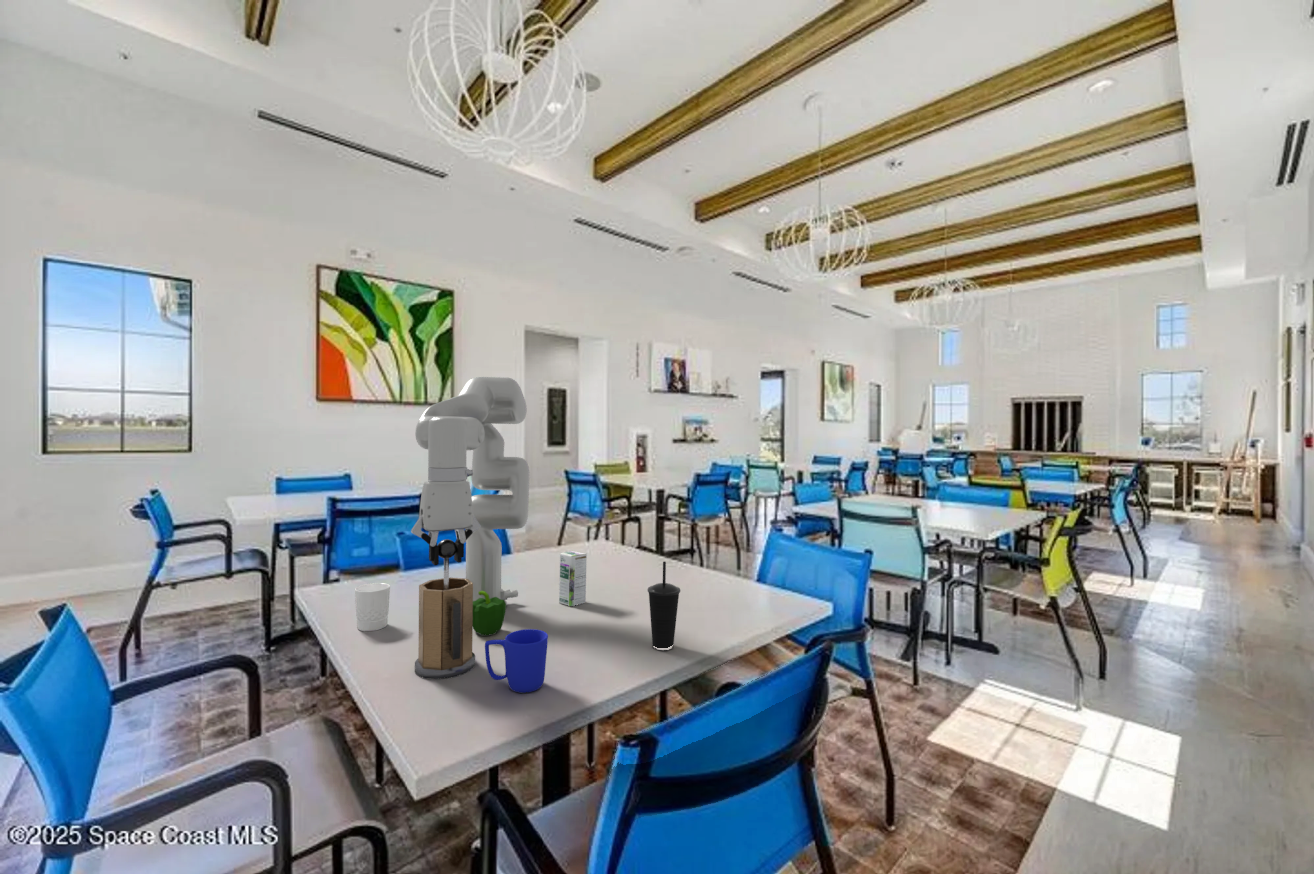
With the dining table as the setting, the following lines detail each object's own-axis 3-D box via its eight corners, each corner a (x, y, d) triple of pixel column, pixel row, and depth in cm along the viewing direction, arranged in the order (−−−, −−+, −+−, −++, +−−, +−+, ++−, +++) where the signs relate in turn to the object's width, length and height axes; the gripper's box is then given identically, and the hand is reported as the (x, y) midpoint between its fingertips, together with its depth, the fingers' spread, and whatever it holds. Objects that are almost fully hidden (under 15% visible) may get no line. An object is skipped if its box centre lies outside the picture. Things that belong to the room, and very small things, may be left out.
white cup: (375, 633, 139) (375, 592, 138) (347, 630, 140) (347, 590, 140) (396, 622, 146) (396, 584, 146) (369, 620, 148) (369, 581, 148)
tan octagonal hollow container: (465, 651, 129) (466, 573, 128) (486, 673, 117) (487, 589, 117) (409, 662, 122) (409, 581, 122) (424, 688, 110) (425, 598, 110)
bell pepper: (511, 632, 141) (512, 592, 140) (480, 641, 135) (481, 599, 135) (494, 623, 147) (494, 585, 146) (464, 631, 141) (464, 591, 141)
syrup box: (558, 603, 165) (558, 553, 164) (573, 598, 169) (574, 549, 169) (571, 607, 161) (571, 556, 161) (586, 602, 165) (587, 552, 165)
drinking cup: (655, 655, 128) (657, 567, 127) (641, 644, 135) (642, 559, 134) (685, 650, 131) (686, 563, 131) (669, 638, 138) (670, 556, 138)
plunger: (459, 618, 126) (459, 534, 125) (469, 629, 119) (470, 540, 119) (422, 625, 121) (423, 538, 121) (431, 636, 115) (432, 544, 115)
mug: (489, 678, 115) (489, 629, 115) (549, 677, 116) (550, 628, 116) (479, 697, 107) (480, 644, 107) (545, 696, 108) (545, 643, 108)
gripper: (481, 473, 128) (480, 554, 128) (400, 475, 118) (400, 563, 118) (492, 475, 121) (491, 561, 122) (408, 478, 112) (407, 571, 112)
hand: (446, 561), depth 120 cm, fingers closed on plunger, 4 cm apart
